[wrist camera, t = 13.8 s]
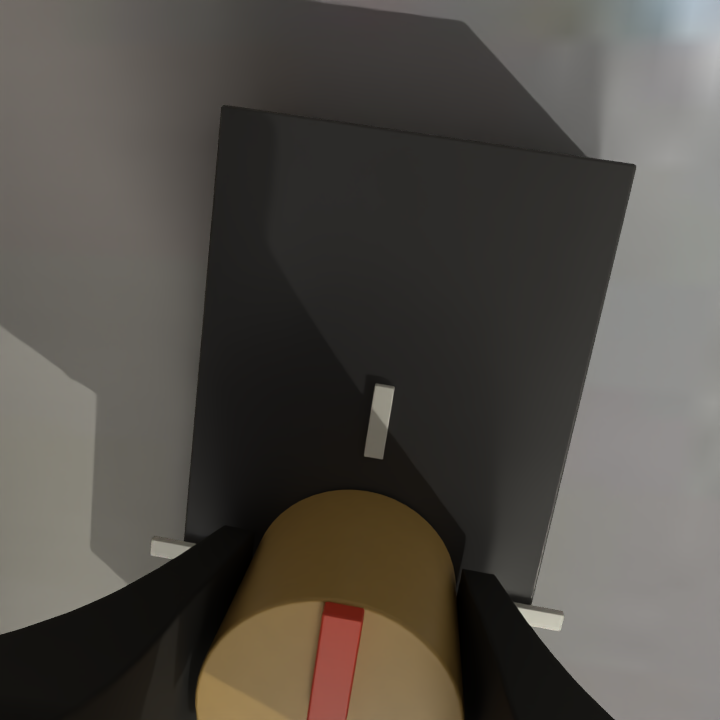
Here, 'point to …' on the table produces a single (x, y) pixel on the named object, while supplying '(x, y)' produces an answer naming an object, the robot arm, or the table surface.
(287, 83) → the table surface
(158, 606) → the robot arm
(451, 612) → the hob knob
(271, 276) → the panel
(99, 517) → the table surface
